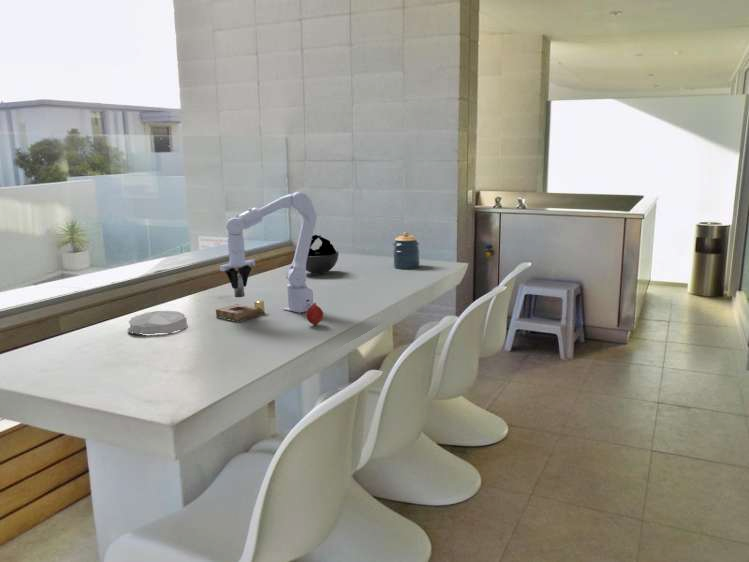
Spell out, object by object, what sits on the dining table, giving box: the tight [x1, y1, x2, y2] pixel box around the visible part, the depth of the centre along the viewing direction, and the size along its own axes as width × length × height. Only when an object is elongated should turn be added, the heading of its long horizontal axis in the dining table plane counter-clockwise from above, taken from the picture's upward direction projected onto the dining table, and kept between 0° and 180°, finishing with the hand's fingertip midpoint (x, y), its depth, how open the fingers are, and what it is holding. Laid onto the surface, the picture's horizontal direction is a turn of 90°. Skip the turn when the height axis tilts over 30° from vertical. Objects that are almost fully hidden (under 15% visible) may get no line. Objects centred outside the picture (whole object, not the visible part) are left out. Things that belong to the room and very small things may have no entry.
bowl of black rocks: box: [305, 234, 340, 275], centre depth 317 cm, size 20×20×19 cm
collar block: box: [215, 303, 260, 322], centre depth 241 cm, size 12×10×3 cm
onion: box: [305, 302, 324, 326], centre depth 225 cm, size 6×6×8 cm
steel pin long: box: [233, 273, 245, 298], centre depth 243 cm, size 4×4×8 cm
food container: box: [127, 310, 189, 334], centre depth 229 cm, size 20×20×7 cm
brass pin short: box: [253, 300, 266, 315], centre depth 245 cm, size 4×4×4 cm
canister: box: [392, 231, 420, 270], centre depth 327 cm, size 13×13×18 cm
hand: (239, 287), depth 243 cm, fingers closed on steel pin long, 4 cm apart
